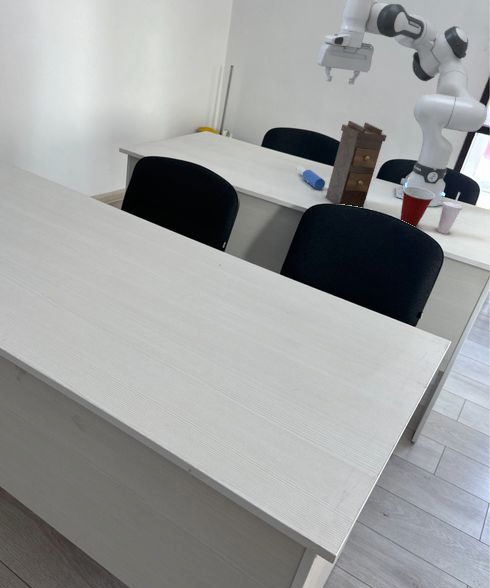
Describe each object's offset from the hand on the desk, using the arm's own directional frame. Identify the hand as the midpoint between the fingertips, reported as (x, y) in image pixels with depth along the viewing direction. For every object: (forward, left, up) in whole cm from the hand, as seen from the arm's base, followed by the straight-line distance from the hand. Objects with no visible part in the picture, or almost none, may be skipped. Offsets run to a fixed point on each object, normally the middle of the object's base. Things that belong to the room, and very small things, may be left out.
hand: (339, 82), depth 214 cm
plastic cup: (+37, +30, -37) cm, 60 cm away
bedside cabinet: (+23, +9, -37) cm, 45 cm away
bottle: (+2, -4, -33) cm, 33 cm away
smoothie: (+38, +42, -37) cm, 68 cm away
